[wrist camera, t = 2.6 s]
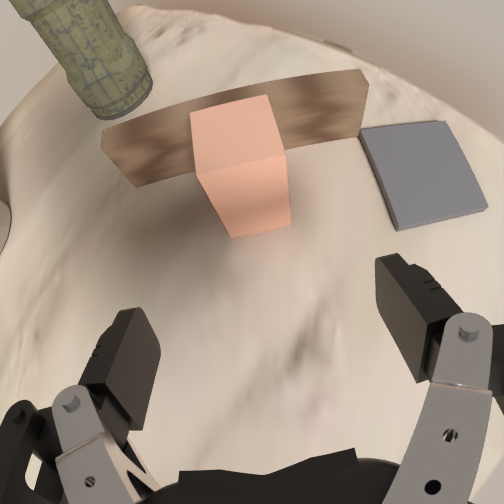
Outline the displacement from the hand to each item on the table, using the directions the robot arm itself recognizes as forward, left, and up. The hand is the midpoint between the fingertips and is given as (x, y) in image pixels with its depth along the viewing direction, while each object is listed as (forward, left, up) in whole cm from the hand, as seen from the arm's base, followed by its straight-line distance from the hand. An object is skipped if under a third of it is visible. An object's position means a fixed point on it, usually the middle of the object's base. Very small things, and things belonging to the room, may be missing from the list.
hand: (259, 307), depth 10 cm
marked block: (-8, +7, -14) cm, 18 cm away
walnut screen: (-12, +12, -14) cm, 22 cm away
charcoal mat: (+3, +19, -14) cm, 24 cm away
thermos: (-32, +11, -14) cm, 37 cm away
